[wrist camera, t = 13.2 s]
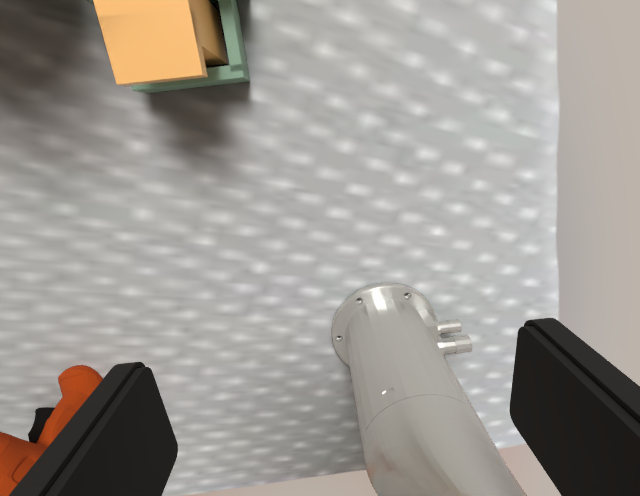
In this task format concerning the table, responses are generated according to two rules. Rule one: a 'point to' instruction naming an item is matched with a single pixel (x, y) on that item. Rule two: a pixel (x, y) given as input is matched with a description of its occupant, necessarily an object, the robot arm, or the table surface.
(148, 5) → the orange rectangular block
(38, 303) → the table surface
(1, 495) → the toy drill
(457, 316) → the table surface
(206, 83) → the green drawer box
